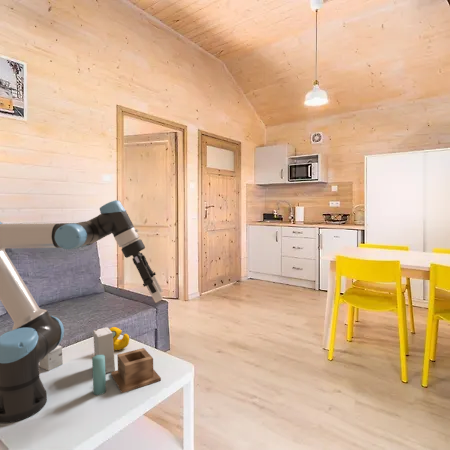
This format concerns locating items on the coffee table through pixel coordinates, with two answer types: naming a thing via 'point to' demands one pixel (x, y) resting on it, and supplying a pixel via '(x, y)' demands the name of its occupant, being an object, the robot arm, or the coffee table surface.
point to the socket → (134, 370)
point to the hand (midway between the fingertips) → (159, 296)
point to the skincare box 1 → (52, 359)
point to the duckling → (116, 342)
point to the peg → (99, 374)
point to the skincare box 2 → (105, 347)
